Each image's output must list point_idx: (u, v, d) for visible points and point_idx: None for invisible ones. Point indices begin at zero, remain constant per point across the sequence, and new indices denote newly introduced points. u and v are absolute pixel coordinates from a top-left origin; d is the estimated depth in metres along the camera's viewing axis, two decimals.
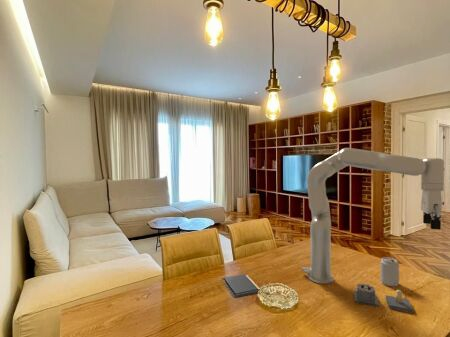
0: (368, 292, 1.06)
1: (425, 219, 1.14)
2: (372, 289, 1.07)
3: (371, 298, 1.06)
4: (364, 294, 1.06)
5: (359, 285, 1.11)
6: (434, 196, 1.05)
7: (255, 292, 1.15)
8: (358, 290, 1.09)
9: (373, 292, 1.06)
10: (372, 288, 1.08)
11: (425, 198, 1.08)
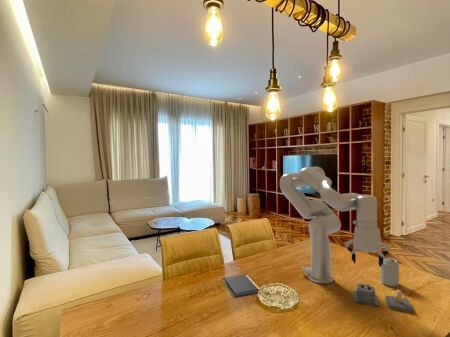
0: (368, 292, 1.06)
1: (355, 259, 1.09)
2: (372, 289, 1.07)
3: (371, 298, 1.06)
4: (364, 294, 1.06)
5: (359, 285, 1.11)
6: None
7: (255, 292, 1.15)
8: (358, 290, 1.09)
9: (373, 292, 1.06)
10: (372, 288, 1.08)
11: (372, 237, 1.05)
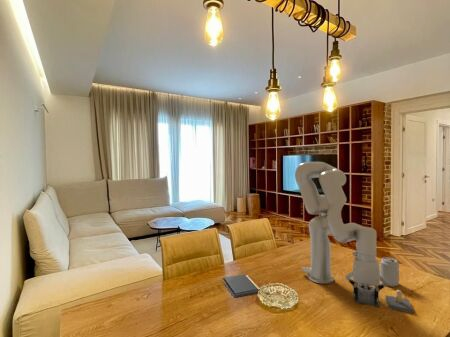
0: (368, 292, 1.06)
1: None
2: (372, 289, 1.07)
3: (371, 298, 1.06)
4: (364, 294, 1.06)
5: (359, 285, 1.11)
6: None
7: (255, 292, 1.15)
8: (358, 290, 1.09)
9: (373, 292, 1.06)
10: (372, 288, 1.08)
11: (371, 270, 1.05)
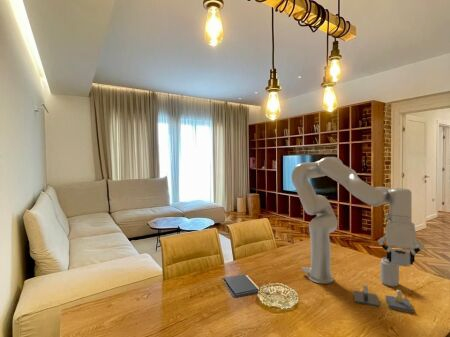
0: (404, 256, 1.00)
1: None
2: (407, 253, 1.02)
3: (407, 262, 1.00)
4: (399, 258, 1.01)
5: (392, 250, 1.05)
6: None
7: (255, 292, 1.15)
8: (392, 255, 1.03)
9: (409, 256, 1.00)
10: (407, 252, 1.02)
11: (407, 232, 1.00)
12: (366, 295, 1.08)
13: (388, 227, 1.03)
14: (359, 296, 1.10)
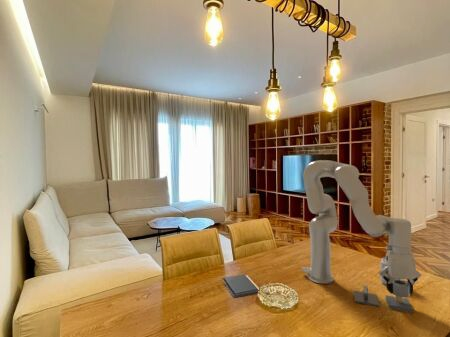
0: (406, 287, 1.00)
1: None
2: (406, 283, 1.03)
3: (408, 293, 1.01)
4: (402, 290, 1.01)
5: (392, 281, 1.05)
6: None
7: (255, 292, 1.15)
8: (394, 286, 1.02)
9: (409, 286, 1.01)
10: (406, 282, 1.04)
11: (408, 263, 1.01)
12: (366, 295, 1.08)
13: (391, 259, 1.02)
14: (359, 296, 1.10)
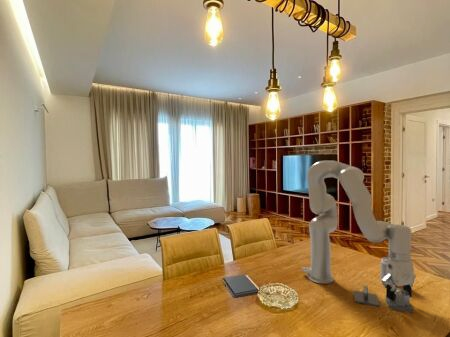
0: (408, 296, 1.01)
1: None
2: (405, 291, 1.04)
3: None
4: (405, 299, 1.01)
5: None
6: None
7: (255, 292, 1.15)
8: (397, 297, 1.02)
9: (408, 294, 1.03)
10: (403, 290, 1.05)
11: (409, 269, 1.02)
12: (366, 295, 1.08)
13: (395, 267, 1.00)
14: (359, 296, 1.10)
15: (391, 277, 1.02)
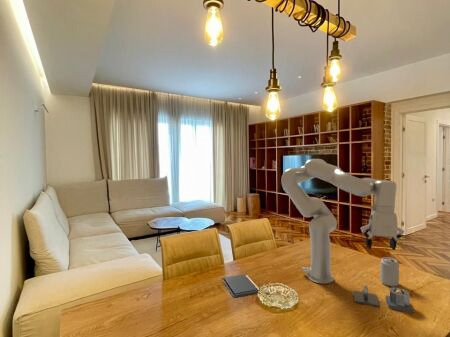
0: (408, 296, 1.01)
1: None
2: (405, 291, 1.04)
3: None
4: (405, 299, 1.01)
5: (392, 291, 1.04)
6: None
7: (255, 292, 1.15)
8: (397, 297, 1.02)
9: (408, 294, 1.03)
10: (403, 290, 1.05)
11: (391, 222, 1.06)
12: (366, 295, 1.08)
13: (374, 217, 1.07)
14: (359, 296, 1.10)
15: (370, 227, 1.09)
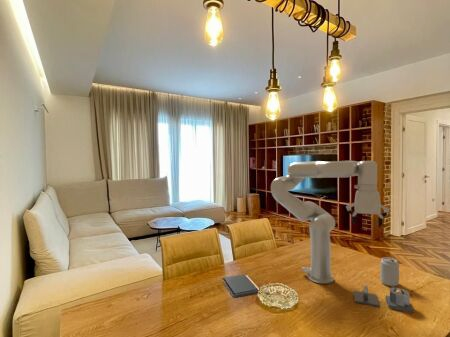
0: (408, 296, 1.01)
1: None
2: (405, 291, 1.04)
3: None
4: (405, 299, 1.01)
5: (392, 291, 1.04)
6: (379, 196, 1.12)
7: (255, 292, 1.15)
8: (397, 297, 1.02)
9: (408, 294, 1.03)
10: (403, 290, 1.05)
11: (372, 200, 1.11)
12: (366, 295, 1.08)
13: (356, 195, 1.14)
14: (359, 296, 1.10)
15: (354, 205, 1.16)
